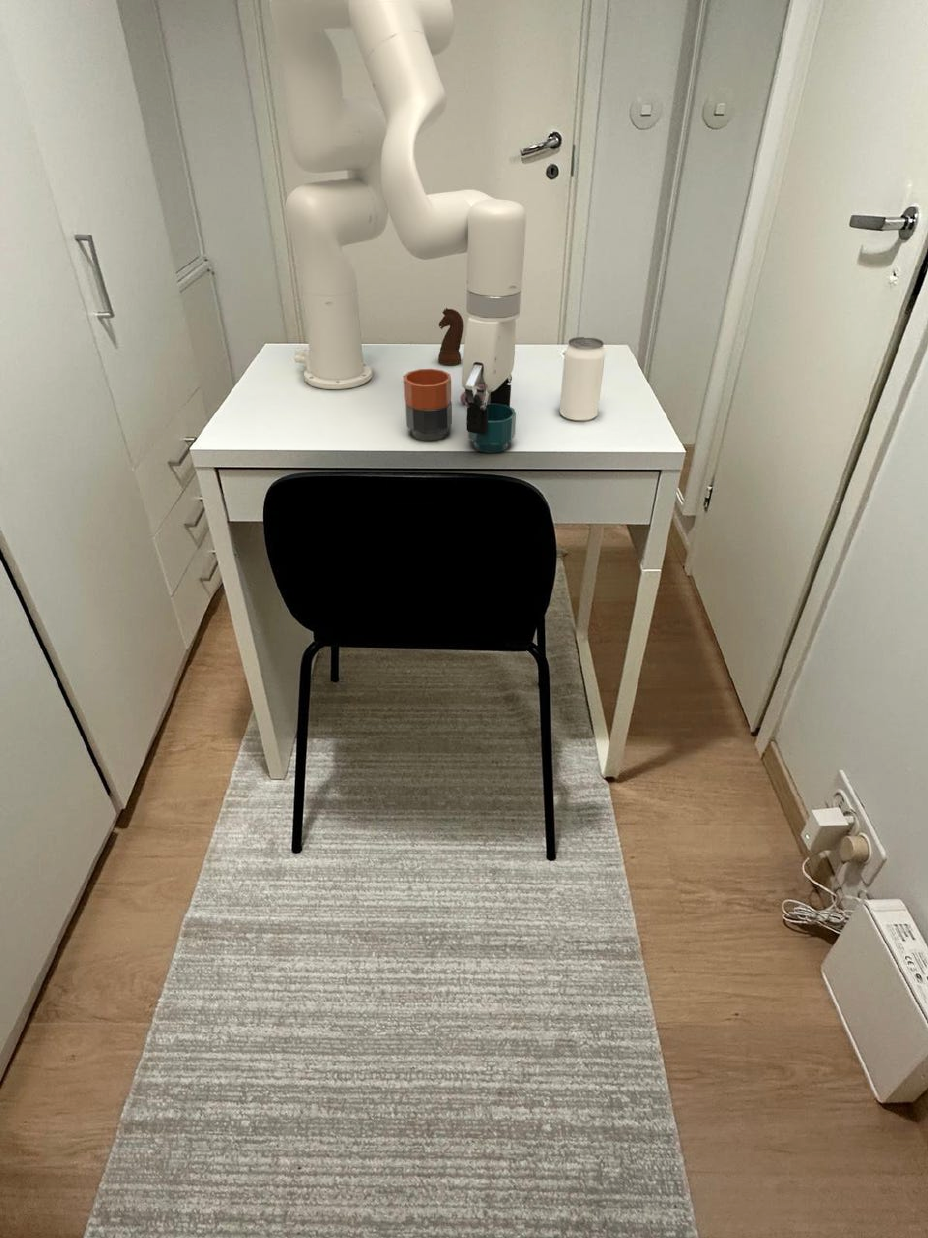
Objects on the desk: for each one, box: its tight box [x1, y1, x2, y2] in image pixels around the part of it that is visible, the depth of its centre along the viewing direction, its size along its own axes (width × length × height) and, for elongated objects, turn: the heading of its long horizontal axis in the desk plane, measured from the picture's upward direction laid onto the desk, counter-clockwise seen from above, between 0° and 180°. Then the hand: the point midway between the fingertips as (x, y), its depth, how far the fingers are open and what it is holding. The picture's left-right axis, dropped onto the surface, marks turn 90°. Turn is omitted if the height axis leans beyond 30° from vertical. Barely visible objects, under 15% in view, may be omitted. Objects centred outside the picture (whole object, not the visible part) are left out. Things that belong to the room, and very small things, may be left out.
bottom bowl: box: [404, 400, 453, 442], centre depth 115 cm, size 7×7×5 cm
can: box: [559, 336, 606, 422], centre depth 119 cm, size 6×6×12 cm
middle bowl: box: [402, 368, 452, 410], centre depth 113 cm, size 7×7×5 cm
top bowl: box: [466, 402, 517, 454], centre depth 112 cm, size 7×7×5 cm
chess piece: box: [437, 307, 465, 367], centre depth 140 cm, size 5×5×10 cm
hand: (488, 419), depth 111 cm, fingers open, 9 cm apart
